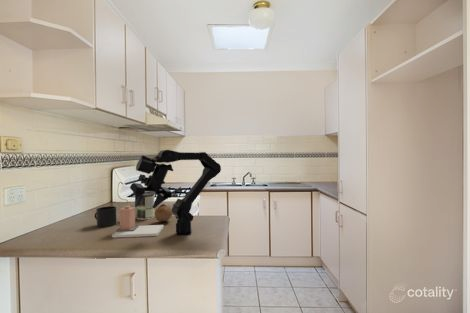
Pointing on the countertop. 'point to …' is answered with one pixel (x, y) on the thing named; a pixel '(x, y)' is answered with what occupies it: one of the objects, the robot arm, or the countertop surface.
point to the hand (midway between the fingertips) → (144, 207)
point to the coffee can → (146, 207)
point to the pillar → (127, 218)
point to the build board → (139, 231)
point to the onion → (163, 213)
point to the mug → (106, 216)
